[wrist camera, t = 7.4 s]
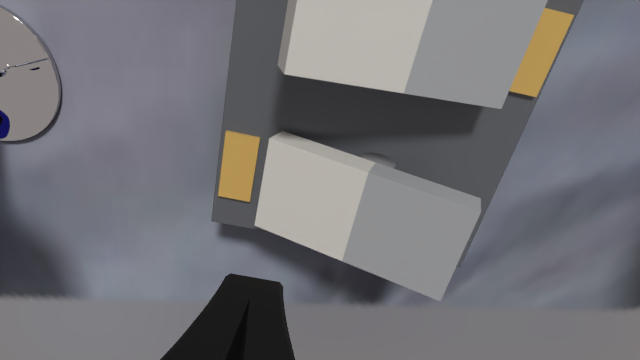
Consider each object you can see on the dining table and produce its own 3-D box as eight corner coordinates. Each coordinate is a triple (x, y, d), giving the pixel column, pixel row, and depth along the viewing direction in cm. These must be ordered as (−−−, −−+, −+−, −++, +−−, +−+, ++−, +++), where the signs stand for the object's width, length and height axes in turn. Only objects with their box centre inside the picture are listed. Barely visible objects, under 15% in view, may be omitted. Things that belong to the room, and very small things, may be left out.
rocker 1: (501, -17, 15) (553, -12, 12) (461, 89, 16) (501, 109, 14) (291, -77, 12) (311, -85, 10) (271, 56, 14) (284, 74, 12)
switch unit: (660, -266, 13) (739, -326, 10) (445, 238, 21) (461, 270, 19) (296, -383, 12) (289, -479, 9) (223, 195, 20) (210, 223, 18)
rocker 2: (480, 184, 15) (481, 211, 13) (444, 265, 17) (440, 301, 15) (295, 123, 17) (269, 138, 15) (280, 201, 19) (254, 225, 17)
